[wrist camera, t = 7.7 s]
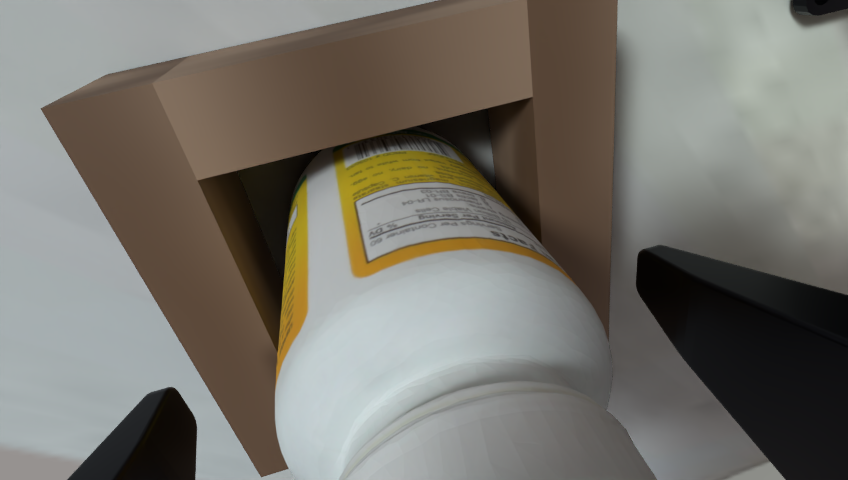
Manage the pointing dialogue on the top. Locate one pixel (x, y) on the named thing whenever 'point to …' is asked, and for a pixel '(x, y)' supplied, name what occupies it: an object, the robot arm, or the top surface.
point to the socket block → (330, 126)
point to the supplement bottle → (434, 330)
